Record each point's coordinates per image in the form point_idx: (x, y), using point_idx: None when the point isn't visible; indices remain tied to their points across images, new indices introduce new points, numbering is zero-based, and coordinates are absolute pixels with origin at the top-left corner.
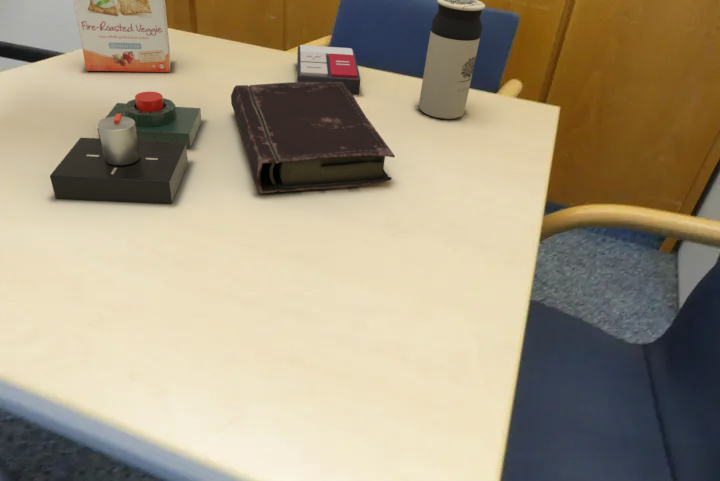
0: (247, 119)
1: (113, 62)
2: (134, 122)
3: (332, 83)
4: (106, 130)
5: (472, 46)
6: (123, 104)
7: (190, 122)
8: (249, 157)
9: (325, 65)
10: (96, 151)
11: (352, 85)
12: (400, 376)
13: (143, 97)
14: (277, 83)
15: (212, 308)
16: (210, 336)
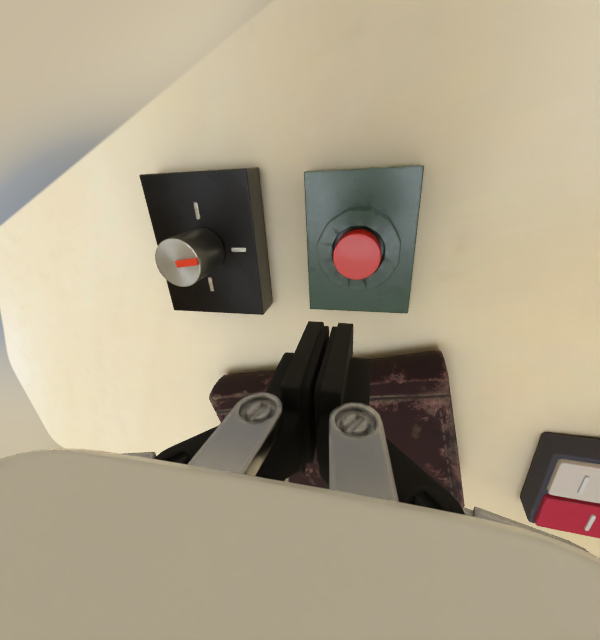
0: None
1: None
2: (186, 286)
3: (458, 495)
4: (155, 256)
5: None
6: (416, 181)
7: (348, 306)
8: (251, 378)
9: (591, 500)
10: (212, 209)
11: (526, 505)
12: (83, 426)
13: (349, 249)
14: (454, 433)
15: (85, 343)
16: (65, 343)
